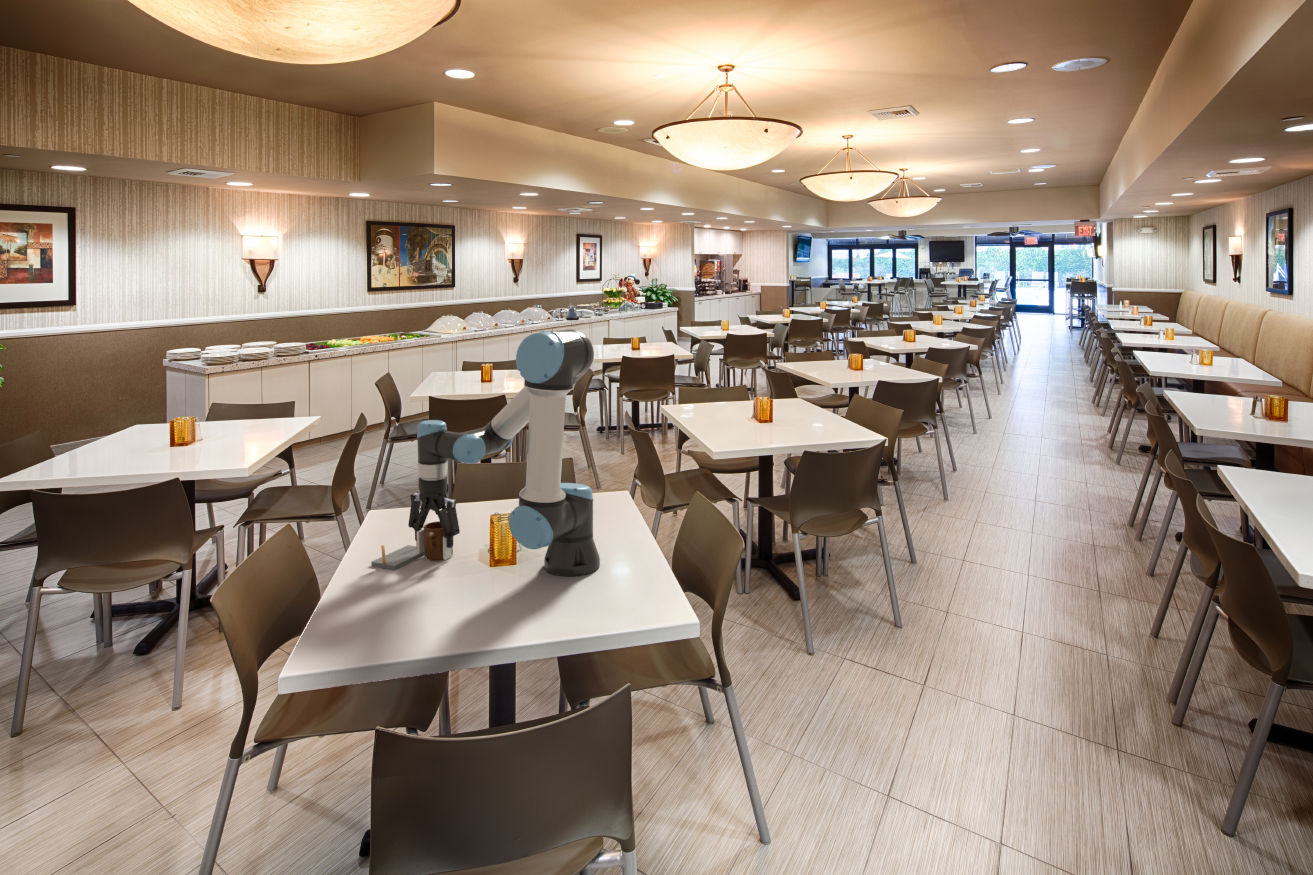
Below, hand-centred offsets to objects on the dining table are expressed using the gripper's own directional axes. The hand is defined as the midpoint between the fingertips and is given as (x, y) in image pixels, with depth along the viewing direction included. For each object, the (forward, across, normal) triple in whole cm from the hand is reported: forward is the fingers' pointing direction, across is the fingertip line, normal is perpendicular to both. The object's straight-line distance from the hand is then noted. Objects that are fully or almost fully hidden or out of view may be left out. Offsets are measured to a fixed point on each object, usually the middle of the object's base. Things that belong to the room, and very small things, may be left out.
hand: (434, 554), depth 205 cm
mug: (+1, -1, 0) cm, 2 cm away
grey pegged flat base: (+2, +8, +4) cm, 9 cm away
